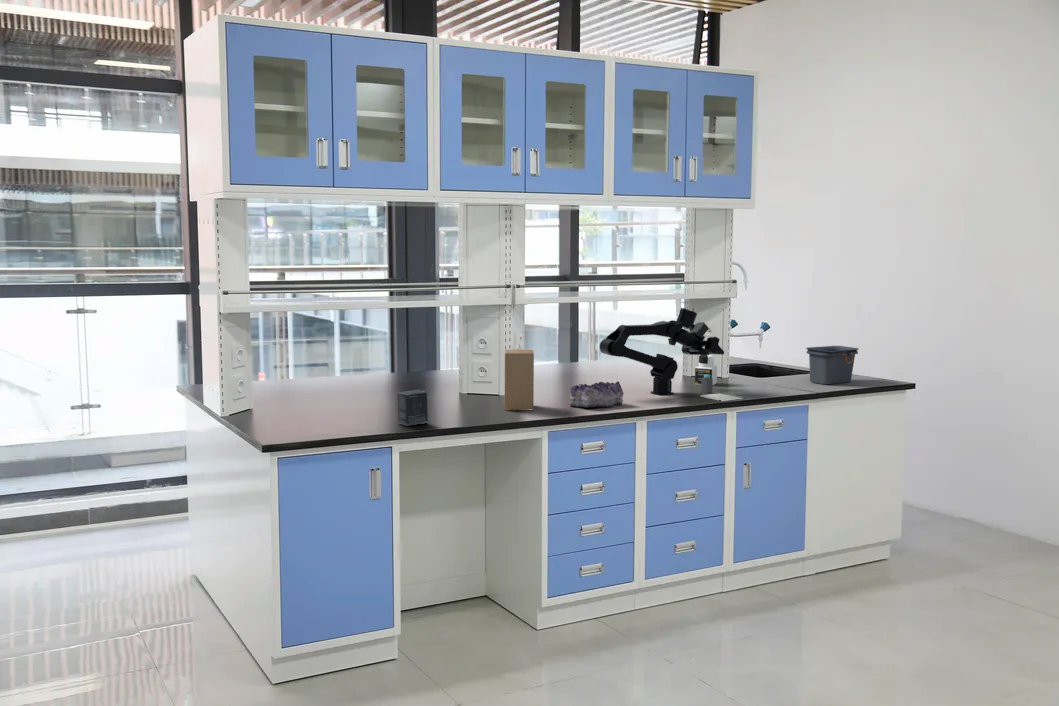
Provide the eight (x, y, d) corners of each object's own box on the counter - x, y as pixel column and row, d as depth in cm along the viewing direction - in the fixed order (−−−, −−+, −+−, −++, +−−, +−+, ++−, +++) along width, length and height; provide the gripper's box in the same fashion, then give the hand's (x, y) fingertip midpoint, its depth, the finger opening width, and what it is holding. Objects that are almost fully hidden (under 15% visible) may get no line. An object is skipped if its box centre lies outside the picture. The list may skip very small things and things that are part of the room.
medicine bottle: (694, 384, 392) (695, 355, 391) (699, 382, 398) (700, 353, 397) (711, 386, 389) (712, 356, 387) (716, 383, 395) (717, 354, 394)
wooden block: (532, 405, 346) (533, 349, 343) (533, 410, 336) (533, 353, 333) (504, 405, 346) (504, 349, 343) (504, 410, 336) (504, 353, 333)
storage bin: (833, 377, 412) (835, 344, 410) (865, 382, 399) (866, 348, 398) (800, 382, 400) (802, 347, 398) (832, 387, 387) (833, 352, 385)
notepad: (722, 401, 355) (722, 399, 355) (700, 396, 365) (700, 395, 365) (744, 398, 361) (744, 397, 361) (721, 393, 371) (721, 392, 371)
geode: (610, 401, 356) (614, 374, 354) (628, 410, 346) (632, 383, 344) (563, 403, 346) (566, 376, 344) (580, 413, 336) (583, 385, 334)
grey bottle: (706, 394, 370) (706, 375, 369) (700, 393, 372) (701, 374, 371) (712, 393, 371) (712, 375, 370) (706, 392, 374) (707, 374, 373)
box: (418, 421, 317) (417, 389, 315) (428, 424, 312) (427, 391, 311) (397, 424, 312) (397, 391, 310) (407, 427, 307) (406, 394, 306)
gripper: (707, 317, 366) (737, 333, 373) (677, 320, 382) (706, 335, 389) (699, 345, 364) (729, 360, 370) (669, 346, 380) (699, 361, 387)
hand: (716, 353), depth 379 cm, fingers open, 9 cm apart
